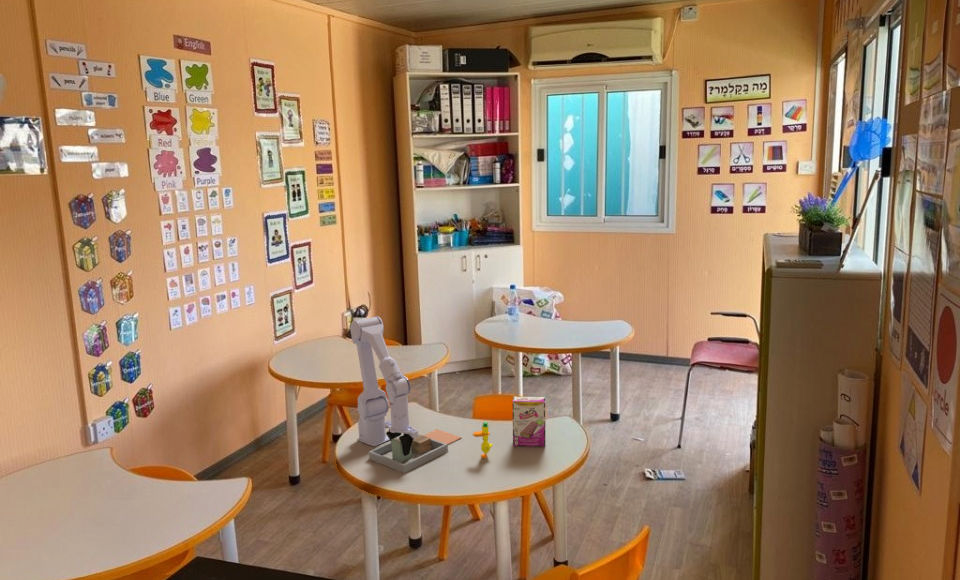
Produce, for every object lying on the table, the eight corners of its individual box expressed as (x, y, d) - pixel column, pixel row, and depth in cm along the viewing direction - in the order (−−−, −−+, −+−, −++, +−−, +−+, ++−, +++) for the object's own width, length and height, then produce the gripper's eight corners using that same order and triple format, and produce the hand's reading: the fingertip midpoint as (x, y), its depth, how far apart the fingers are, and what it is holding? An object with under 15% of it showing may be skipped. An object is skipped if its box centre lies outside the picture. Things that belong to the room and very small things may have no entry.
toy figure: (474, 460, 226) (473, 425, 223) (472, 455, 229) (471, 421, 227) (494, 458, 227) (493, 423, 224) (492, 453, 230) (491, 419, 228)
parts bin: (369, 458, 229) (368, 451, 229) (413, 438, 244) (412, 432, 244) (404, 473, 218) (403, 465, 218) (447, 451, 233) (447, 444, 233)
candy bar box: (512, 447, 235) (511, 401, 231) (513, 440, 240) (512, 396, 236) (546, 447, 234) (545, 401, 230) (546, 441, 238) (545, 396, 235)
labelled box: (392, 459, 228) (391, 438, 227) (403, 454, 232) (402, 433, 231) (400, 462, 226) (399, 441, 224) (411, 457, 230) (410, 436, 228)
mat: (419, 438, 244) (419, 437, 244) (436, 430, 251) (436, 429, 251) (443, 447, 236) (443, 445, 236) (461, 438, 243) (461, 437, 243)
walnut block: (410, 450, 235) (409, 439, 234) (420, 445, 239) (420, 434, 238) (420, 454, 232) (419, 443, 231) (431, 449, 236) (430, 438, 235)
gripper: (375, 412, 228) (378, 451, 230) (405, 422, 218) (408, 462, 221) (391, 406, 233) (394, 444, 236) (421, 416, 223) (423, 455, 226)
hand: (401, 452), depth 229 cm, fingers closed on labelled box, 4 cm apart
